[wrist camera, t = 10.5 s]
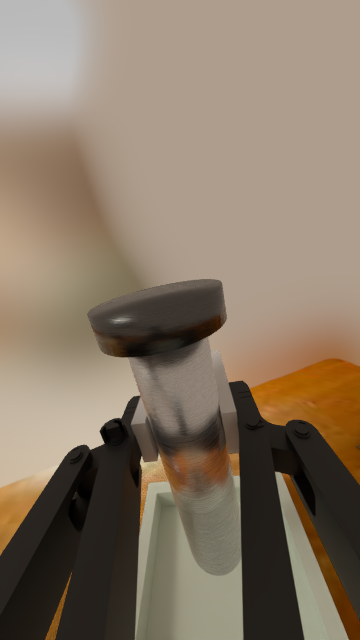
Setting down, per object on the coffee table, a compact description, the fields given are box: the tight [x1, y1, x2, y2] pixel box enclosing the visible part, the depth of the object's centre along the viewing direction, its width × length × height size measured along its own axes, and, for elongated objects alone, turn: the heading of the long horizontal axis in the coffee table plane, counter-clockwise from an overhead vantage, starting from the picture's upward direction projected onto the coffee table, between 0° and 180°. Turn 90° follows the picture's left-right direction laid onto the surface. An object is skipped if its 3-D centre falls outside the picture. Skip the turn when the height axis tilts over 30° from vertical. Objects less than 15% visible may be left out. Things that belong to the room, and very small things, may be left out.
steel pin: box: [87, 279, 241, 576], centre depth 12 cm, size 6×6×18 cm
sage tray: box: [135, 472, 349, 640], centre depth 17 cm, size 16×16×4 cm
